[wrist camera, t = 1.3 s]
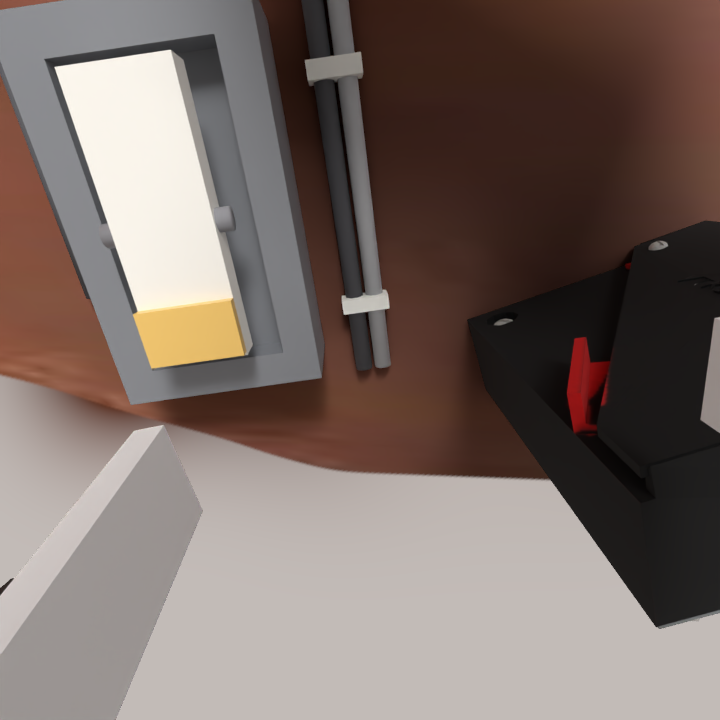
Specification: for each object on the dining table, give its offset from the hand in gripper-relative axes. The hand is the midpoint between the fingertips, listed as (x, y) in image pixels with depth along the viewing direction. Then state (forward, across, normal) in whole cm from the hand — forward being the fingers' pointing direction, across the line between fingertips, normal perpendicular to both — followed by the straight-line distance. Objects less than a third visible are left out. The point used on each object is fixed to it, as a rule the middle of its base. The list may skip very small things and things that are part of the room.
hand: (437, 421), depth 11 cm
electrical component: (+22, +15, -8) cm, 27 cm away
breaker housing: (+21, -10, +5) cm, 24 cm away
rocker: (+14, -10, +5) cm, 18 cm away
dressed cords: (+21, -1, +4) cm, 22 cm away
